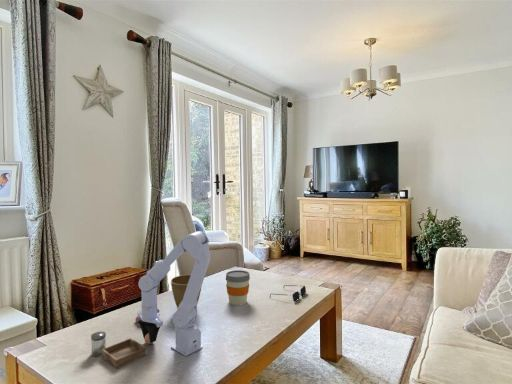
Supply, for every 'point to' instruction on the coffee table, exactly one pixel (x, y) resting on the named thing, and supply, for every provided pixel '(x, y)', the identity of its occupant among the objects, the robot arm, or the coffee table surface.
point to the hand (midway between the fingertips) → (149, 339)
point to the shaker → (98, 343)
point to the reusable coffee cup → (237, 286)
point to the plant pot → (180, 288)
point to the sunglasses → (296, 294)
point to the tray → (123, 352)
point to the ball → (147, 339)
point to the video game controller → (140, 318)
